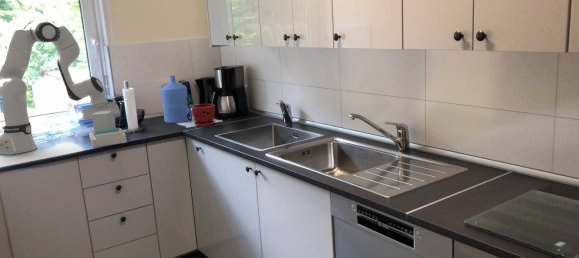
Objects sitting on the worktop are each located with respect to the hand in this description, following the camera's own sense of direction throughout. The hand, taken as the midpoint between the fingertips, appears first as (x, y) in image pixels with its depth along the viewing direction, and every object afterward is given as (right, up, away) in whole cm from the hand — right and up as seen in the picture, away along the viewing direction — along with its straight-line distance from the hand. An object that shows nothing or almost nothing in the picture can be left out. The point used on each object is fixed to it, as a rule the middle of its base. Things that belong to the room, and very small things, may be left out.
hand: (103, 124), depth 297 cm
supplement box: (+4, -8, -6) cm, 11 cm away
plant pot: (+55, -1, +12) cm, 57 cm away
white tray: (+7, -9, -12) cm, 17 cm away
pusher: (+9, -10, -17) cm, 21 cm away
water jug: (+35, +2, +30) cm, 47 cm away
